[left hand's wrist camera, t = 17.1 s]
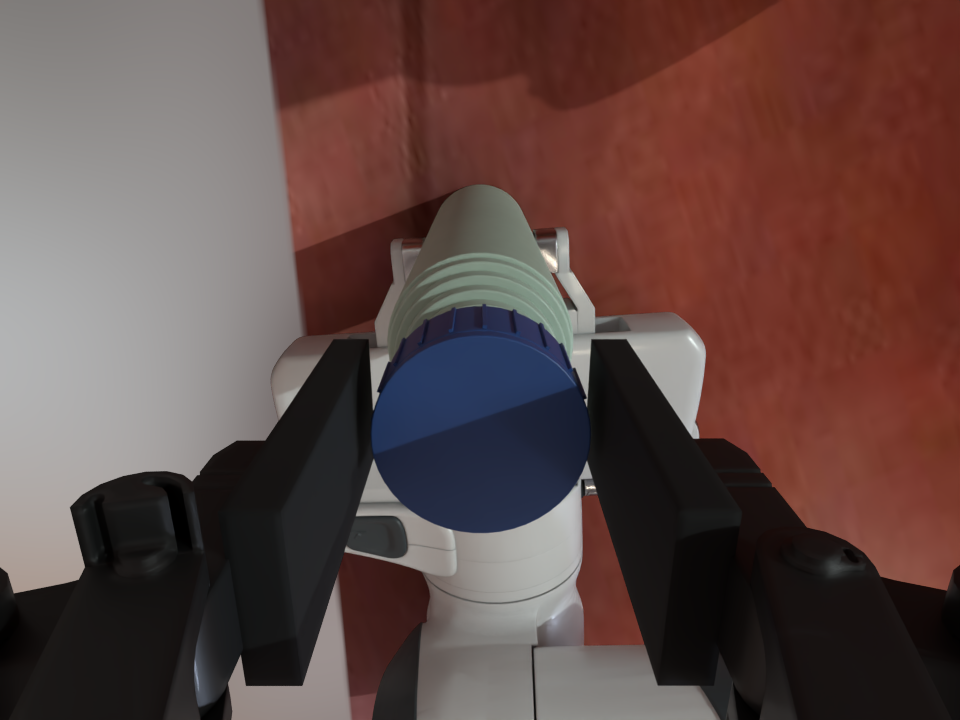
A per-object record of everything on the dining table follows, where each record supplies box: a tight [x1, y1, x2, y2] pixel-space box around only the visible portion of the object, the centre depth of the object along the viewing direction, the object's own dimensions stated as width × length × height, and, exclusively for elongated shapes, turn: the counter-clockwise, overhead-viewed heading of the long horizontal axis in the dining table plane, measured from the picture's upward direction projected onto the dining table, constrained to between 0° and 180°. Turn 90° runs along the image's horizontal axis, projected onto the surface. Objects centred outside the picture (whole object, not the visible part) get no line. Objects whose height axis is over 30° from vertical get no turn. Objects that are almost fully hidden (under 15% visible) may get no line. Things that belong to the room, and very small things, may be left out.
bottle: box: [387, 185, 573, 363], centre depth 24 cm, size 5×5×24 cm
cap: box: [370, 304, 591, 533], centre depth 13 cm, size 4×4×2 cm
